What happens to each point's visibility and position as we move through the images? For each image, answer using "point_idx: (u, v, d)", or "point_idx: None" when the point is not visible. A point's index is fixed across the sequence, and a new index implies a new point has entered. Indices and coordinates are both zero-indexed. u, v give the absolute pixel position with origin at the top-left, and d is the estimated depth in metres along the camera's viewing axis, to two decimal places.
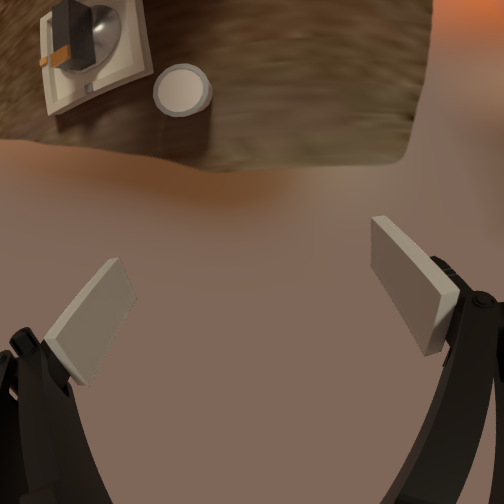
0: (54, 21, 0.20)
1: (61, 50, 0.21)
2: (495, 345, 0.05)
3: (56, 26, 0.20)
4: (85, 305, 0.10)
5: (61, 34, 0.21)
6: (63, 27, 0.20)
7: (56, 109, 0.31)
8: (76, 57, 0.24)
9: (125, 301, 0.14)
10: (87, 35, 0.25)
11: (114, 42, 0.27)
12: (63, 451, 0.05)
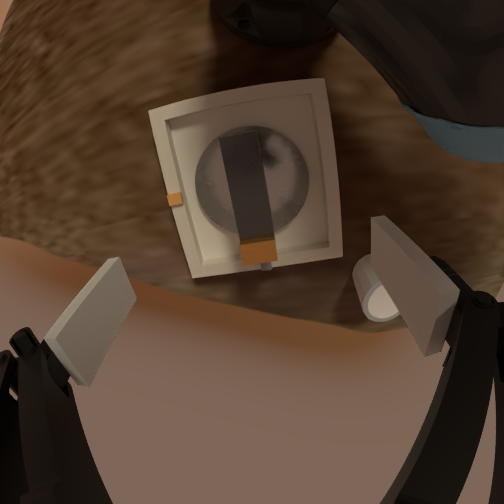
0: (231, 174, 0.22)
1: (265, 245, 0.24)
2: (495, 345, 0.05)
3: (238, 186, 0.23)
4: (85, 305, 0.10)
5: (253, 209, 0.23)
6: (256, 196, 0.23)
7: (207, 274, 0.33)
8: None
9: (125, 301, 0.14)
10: None
11: (302, 206, 0.30)
12: (63, 451, 0.05)
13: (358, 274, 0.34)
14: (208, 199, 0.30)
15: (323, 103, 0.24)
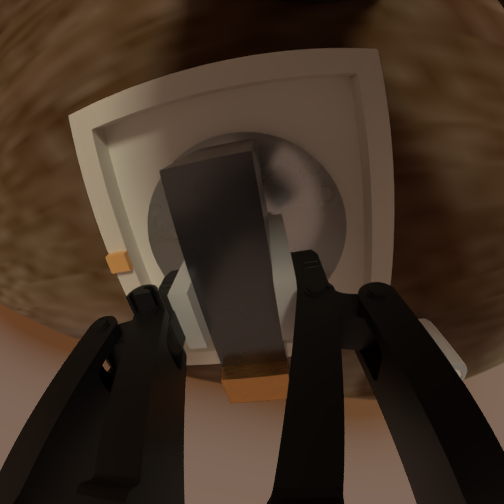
0: (194, 254, 0.10)
1: (269, 381, 0.12)
2: (338, 327, 0.07)
3: (212, 279, 0.10)
4: None
5: (246, 320, 0.11)
6: (251, 299, 0.11)
7: None
8: (288, 364, 0.14)
9: None
10: None
11: (331, 274, 0.18)
12: (154, 443, 0.05)
13: None
14: (172, 263, 0.17)
15: (377, 94, 0.12)
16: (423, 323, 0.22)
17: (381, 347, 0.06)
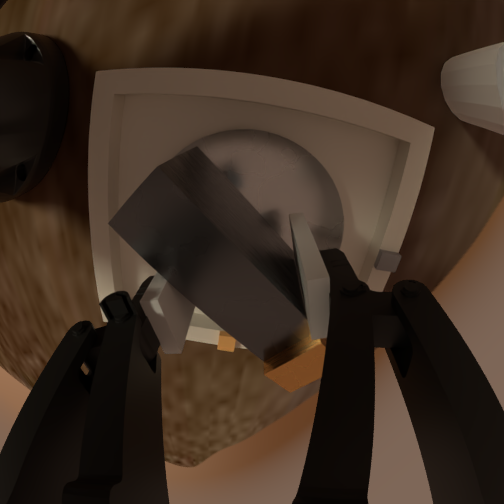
0: (173, 273, 0.10)
1: (309, 358, 0.11)
2: (372, 327, 0.07)
3: (199, 287, 0.11)
4: None
5: (253, 309, 0.11)
6: (243, 288, 0.11)
7: None
8: None
9: None
10: (273, 238, 0.15)
11: (343, 225, 0.16)
12: (133, 442, 0.05)
13: (468, 114, 0.13)
14: None
15: (134, 76, 0.12)
16: (447, 67, 0.13)
17: (413, 344, 0.06)
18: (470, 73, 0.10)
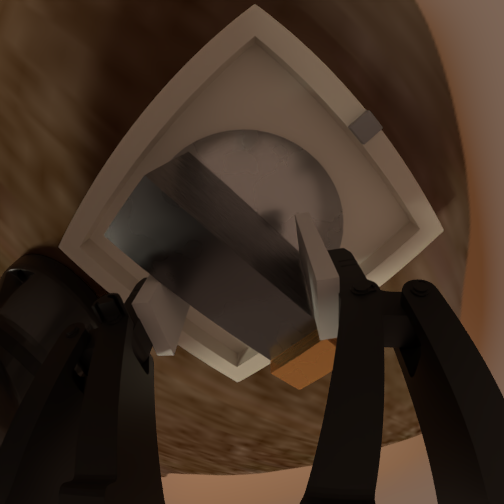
0: (171, 279, 0.11)
1: (314, 354, 0.11)
2: (382, 327, 0.07)
3: (198, 290, 0.11)
4: None
5: (253, 309, 0.11)
6: (241, 288, 0.11)
7: (430, 211, 0.15)
8: None
9: None
10: (271, 236, 0.15)
11: (342, 216, 0.16)
12: (127, 442, 0.05)
13: None
14: None
15: (76, 226, 0.16)
16: None
17: (422, 343, 0.06)
18: None
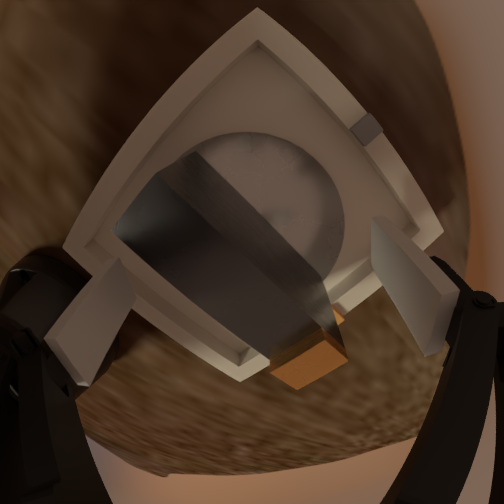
0: (176, 276, 0.11)
1: (313, 354, 0.11)
2: (494, 345, 0.05)
3: (202, 289, 0.11)
4: (85, 305, 0.10)
5: (256, 309, 0.11)
6: (245, 288, 0.11)
7: (430, 212, 0.15)
8: (337, 328, 0.13)
9: (125, 301, 0.14)
10: (274, 238, 0.15)
11: (344, 222, 0.16)
12: (63, 451, 0.05)
13: None
14: None
15: (80, 226, 0.16)
16: None
17: None
18: None
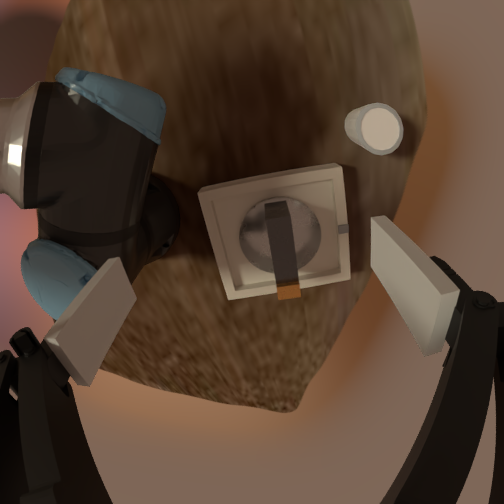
0: (272, 243, 0.34)
1: (293, 287, 0.36)
2: (495, 345, 0.05)
3: (277, 250, 0.35)
4: (85, 305, 0.10)
5: (286, 264, 0.36)
6: (288, 256, 0.35)
7: (348, 268, 0.43)
8: None
9: (125, 301, 0.14)
10: None
11: (315, 253, 0.42)
12: (63, 451, 0.05)
13: (361, 146, 0.35)
14: (248, 248, 0.42)
15: (217, 192, 0.38)
16: (345, 124, 0.35)
17: None
18: (351, 131, 0.33)
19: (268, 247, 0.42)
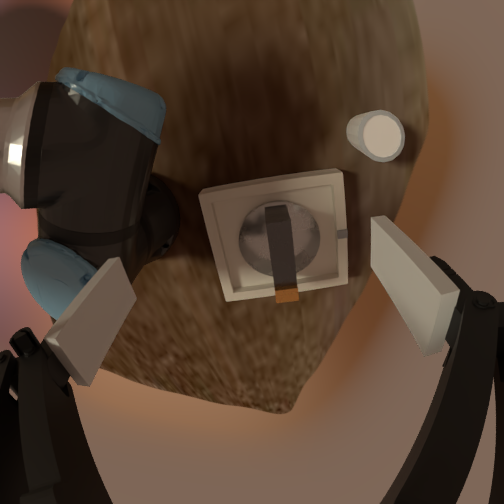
0: (272, 247, 0.35)
1: (291, 291, 0.36)
2: (495, 345, 0.05)
3: (276, 254, 0.35)
4: (85, 305, 0.10)
5: (285, 268, 0.36)
6: (287, 261, 0.35)
7: (346, 273, 0.43)
8: None
9: (125, 301, 0.14)
10: None
11: (314, 257, 0.43)
12: (63, 451, 0.05)
13: None
14: (247, 251, 0.42)
15: (217, 195, 0.38)
16: (347, 130, 0.36)
17: None
18: (353, 137, 0.33)
19: (267, 250, 0.42)
